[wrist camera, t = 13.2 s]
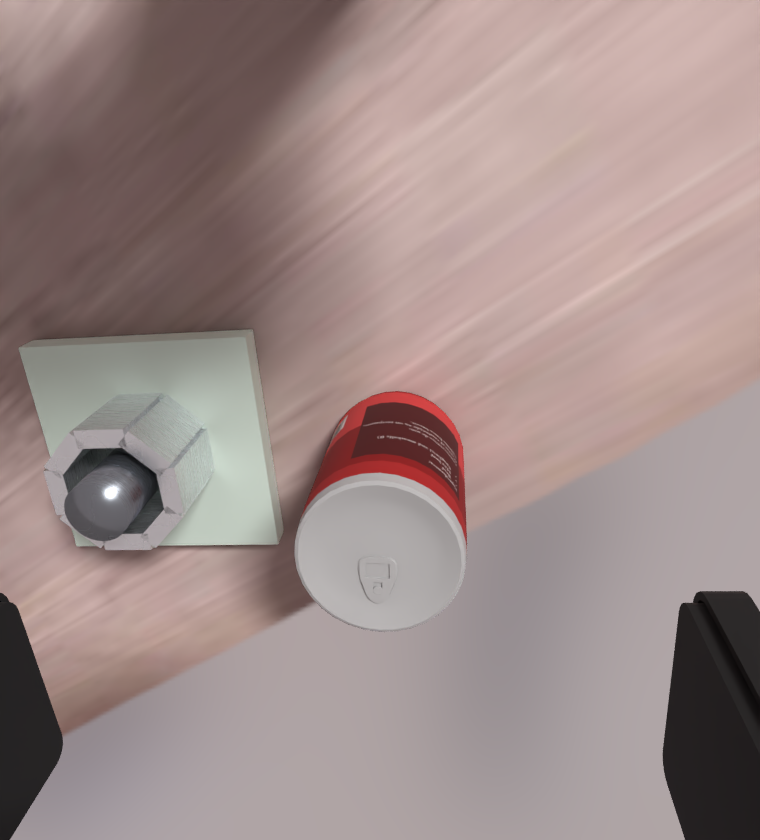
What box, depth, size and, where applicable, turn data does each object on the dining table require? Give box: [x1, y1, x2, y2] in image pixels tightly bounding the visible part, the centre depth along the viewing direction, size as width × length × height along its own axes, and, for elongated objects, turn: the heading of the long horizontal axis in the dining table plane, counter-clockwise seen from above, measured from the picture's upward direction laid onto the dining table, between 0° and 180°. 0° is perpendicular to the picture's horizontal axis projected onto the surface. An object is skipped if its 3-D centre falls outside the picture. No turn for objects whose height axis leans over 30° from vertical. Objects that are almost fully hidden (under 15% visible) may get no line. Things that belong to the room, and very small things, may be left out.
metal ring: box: [43, 393, 215, 550], centre depth 37 cm, size 7×7×5 cm
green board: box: [18, 329, 284, 546], centre depth 40 cm, size 13×13×2 cm
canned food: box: [294, 391, 467, 632], centre depth 35 cm, size 8×8×11 cm
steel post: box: [64, 448, 159, 541], centre depth 36 cm, size 3×3×7 cm
